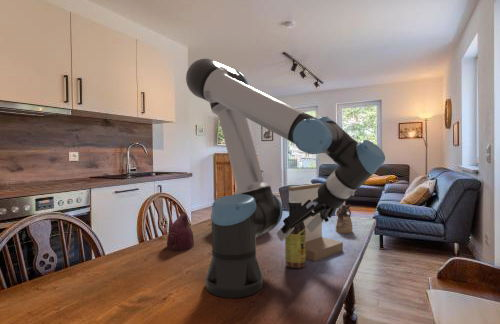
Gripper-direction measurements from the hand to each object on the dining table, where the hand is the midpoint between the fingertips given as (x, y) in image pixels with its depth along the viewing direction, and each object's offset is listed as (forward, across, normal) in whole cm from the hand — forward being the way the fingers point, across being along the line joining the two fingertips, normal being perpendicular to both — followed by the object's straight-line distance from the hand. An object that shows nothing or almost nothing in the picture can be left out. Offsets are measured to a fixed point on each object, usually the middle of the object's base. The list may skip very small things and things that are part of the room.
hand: (294, 233), depth 93 cm
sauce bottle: (+7, 0, -8) cm, 10 cm away
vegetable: (+36, -19, +22) cm, 46 cm away
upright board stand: (+9, +15, -5) cm, 18 cm away
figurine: (+16, +46, +1) cm, 48 cm away
